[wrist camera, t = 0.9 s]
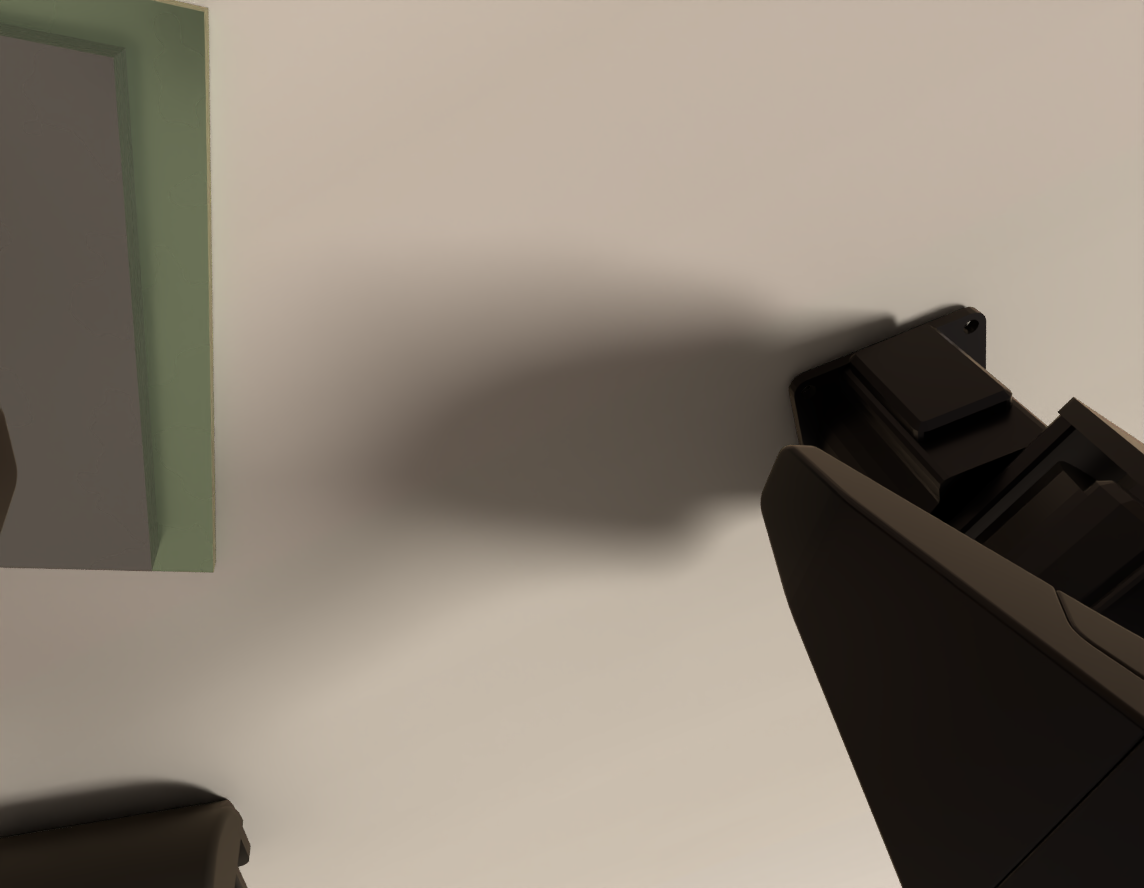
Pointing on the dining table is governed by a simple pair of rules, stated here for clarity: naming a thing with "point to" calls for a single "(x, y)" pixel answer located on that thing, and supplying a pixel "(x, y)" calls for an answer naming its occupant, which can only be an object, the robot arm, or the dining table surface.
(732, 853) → the dining table surface
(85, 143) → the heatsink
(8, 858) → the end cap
